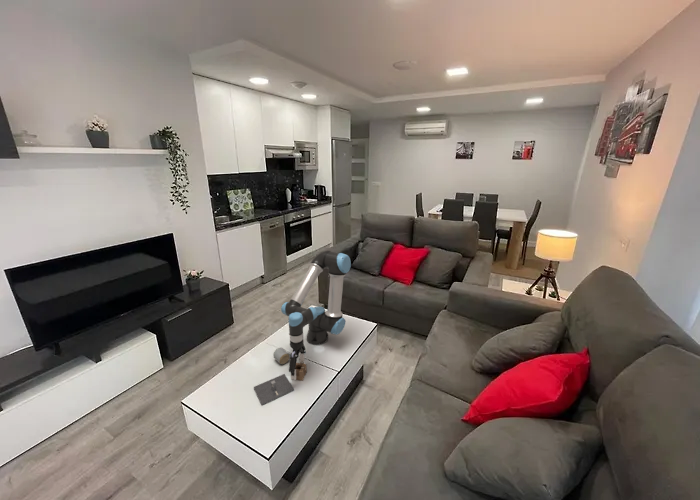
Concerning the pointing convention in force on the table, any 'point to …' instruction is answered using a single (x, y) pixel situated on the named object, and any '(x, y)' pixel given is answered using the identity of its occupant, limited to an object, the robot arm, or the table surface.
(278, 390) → the metal panel
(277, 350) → the ceramic mug
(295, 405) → the table surface
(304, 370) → the brown cardboard box
